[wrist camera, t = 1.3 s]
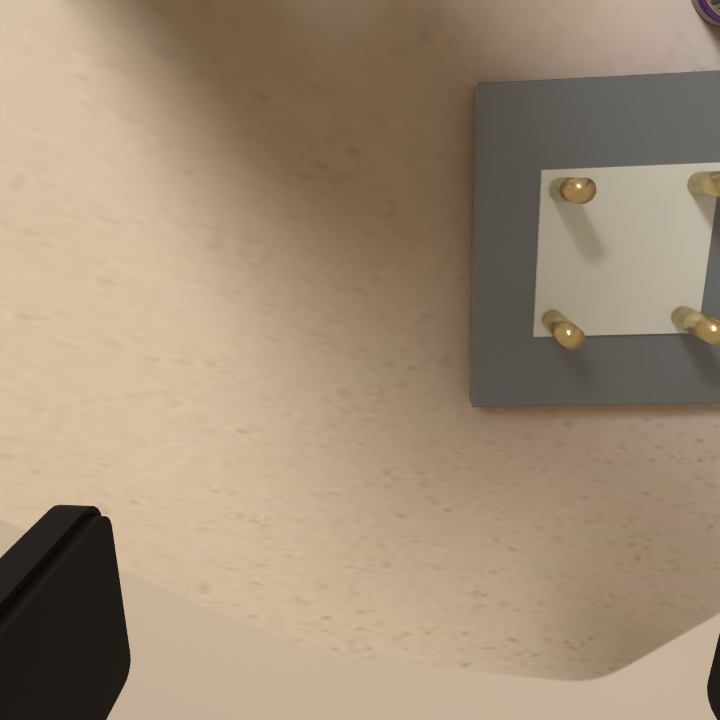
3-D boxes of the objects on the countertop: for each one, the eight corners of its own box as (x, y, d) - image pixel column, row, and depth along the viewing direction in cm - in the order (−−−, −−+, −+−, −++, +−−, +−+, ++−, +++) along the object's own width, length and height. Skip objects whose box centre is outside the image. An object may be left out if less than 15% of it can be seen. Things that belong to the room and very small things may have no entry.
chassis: (474, 87, 31) (479, 82, 30) (783, 71, 30) (805, 65, 29) (469, 398, 37) (473, 408, 35) (731, 393, 36) (747, 403, 34)
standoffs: (549, 177, 31) (571, 178, 27) (712, 170, 30) (758, 170, 27) (541, 330, 34) (559, 350, 30) (691, 326, 33) (730, 346, 29)
